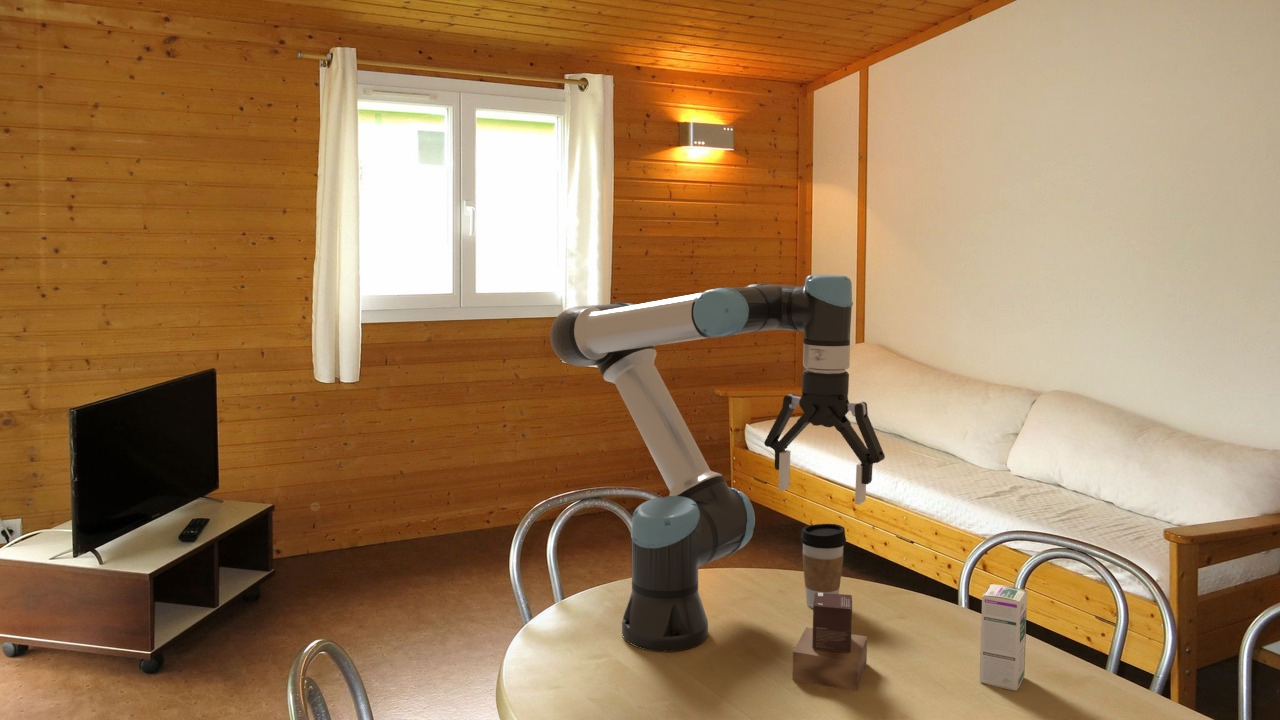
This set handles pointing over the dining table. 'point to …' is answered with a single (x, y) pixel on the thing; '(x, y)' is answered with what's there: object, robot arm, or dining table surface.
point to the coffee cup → (822, 559)
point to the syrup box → (1003, 636)
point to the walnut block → (830, 663)
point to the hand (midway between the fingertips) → (821, 495)
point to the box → (832, 622)
